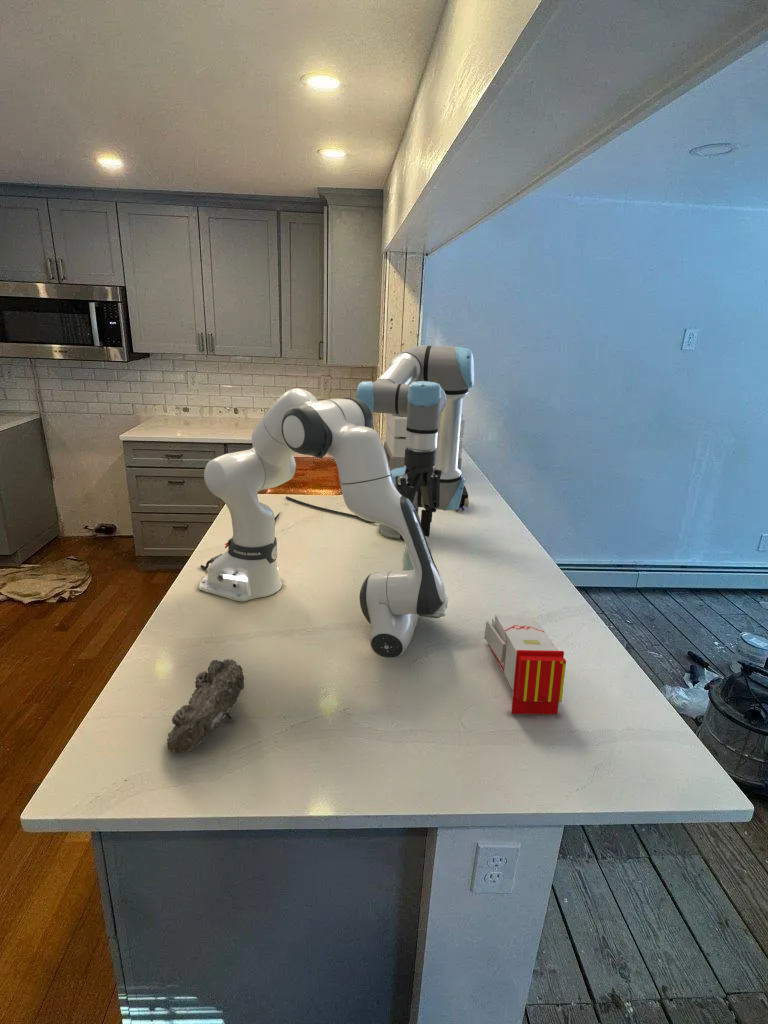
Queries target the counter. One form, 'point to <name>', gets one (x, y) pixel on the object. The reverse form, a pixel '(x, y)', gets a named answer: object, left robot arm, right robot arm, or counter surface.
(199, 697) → the fossil
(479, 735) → the counter surface
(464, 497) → the figurine character
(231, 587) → the left robot arm
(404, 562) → the bottle
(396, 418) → the white storage crate
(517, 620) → the toy
